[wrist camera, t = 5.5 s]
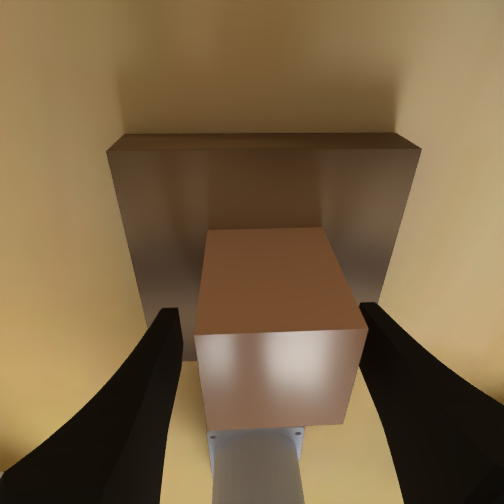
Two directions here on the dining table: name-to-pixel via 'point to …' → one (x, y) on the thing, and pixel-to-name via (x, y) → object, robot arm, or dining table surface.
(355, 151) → the walnut base slab
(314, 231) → the terracotta block
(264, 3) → the dining table surface
